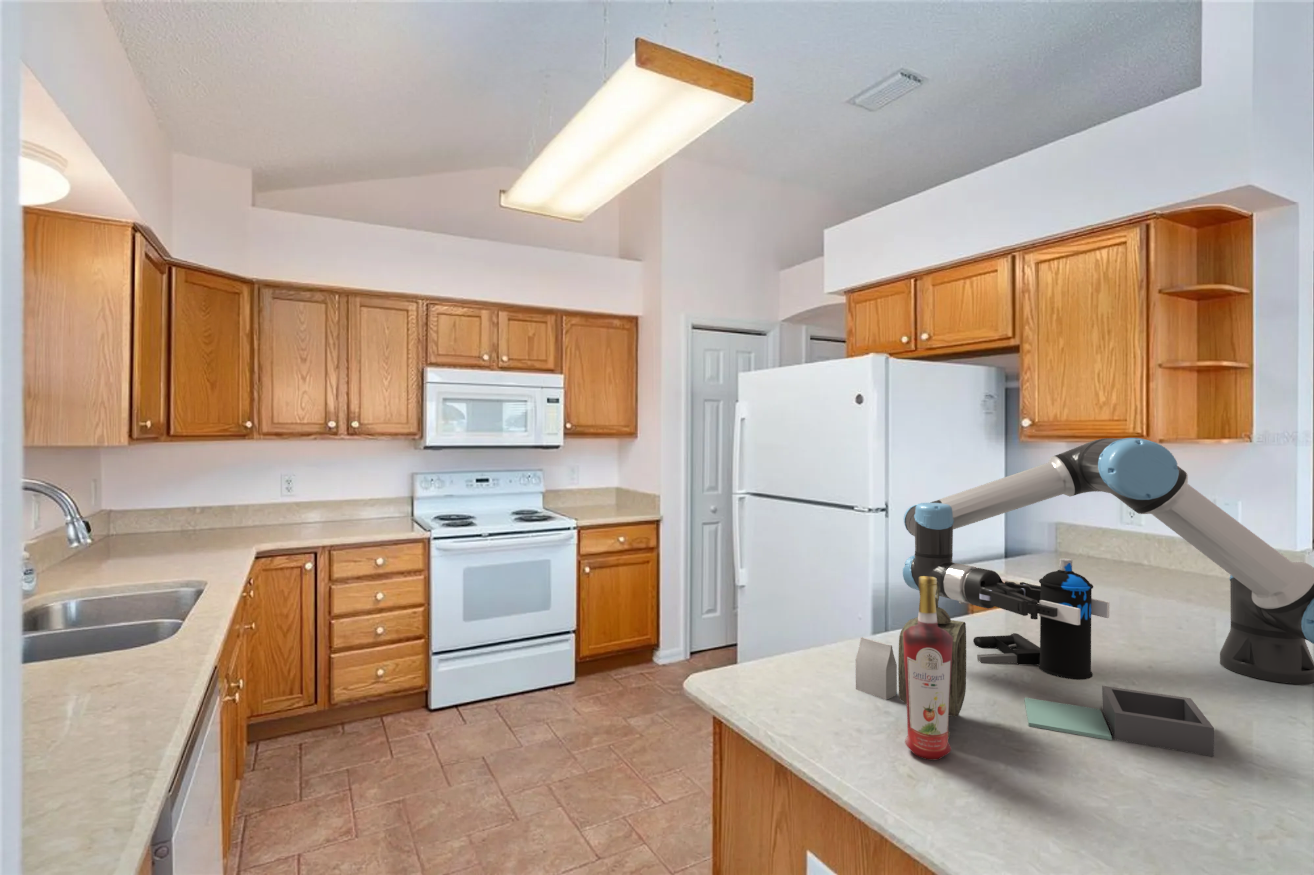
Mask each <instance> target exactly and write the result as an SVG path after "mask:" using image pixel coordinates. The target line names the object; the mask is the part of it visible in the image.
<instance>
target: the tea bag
mask: <svg viewBox="0 0 1314 875" xmlns="http://www.w3.org/2000/svg"><path fill="white" fill-rule="evenodd" d="M859 641H860V642H859V647H858V649H857V652H856V657H855V690H857V691H860V692H863V693H866V694H868V695H871V696H874V697H876V698H879V699H883V700H885V701H887V700H889V699H891V698H894V697H896V696H897V695H898V693H897V691H898V685H897V684H898V683H897V682H898V676H897V674H898V667H897V666H898V665H897V664H898V663H897V662H896V661H897V660H896V657H895V654H894V650H893V645H891V644H888V643H883V642H880V641H876V640H873V639H870V638H866V637H863V636H862V637H860V640H859ZM893 696H894V697H893Z"/></svg>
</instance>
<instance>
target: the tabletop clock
mask: <svg viewBox="0 0 1314 875" xmlns="http://www.w3.org/2000/svg"><path fill="white" fill-rule="evenodd" d="M939 599H940V596H939V583H938V581H937V594H936V595H935V602H936V613H937V623H938V627H939V628H942V629H944V630H945V631H947V632H948V633H949V634H950V635H951V636H952V637H953V644H952V668H951V683H950V698H949V716H952V717H956V718H957V717H958V716H959V715H960V713H961V710H962V707H963V705H964V701H965V696H966V692H967V690H966V687H967V626H966V622H965V621H961V620H953V619H951V616H950V615H949V614H948V612H947V611H946V609H944V608H942V607H939ZM915 625H918V616H917V617H914V618H911V619H909V620H908V621H907V622H906V623H905V624H904V626H903V627H902V628H901V630H900V632H899V637H898V663H897V664H898V665H897V666H898V667H897V674H898V676H897V677H898V697H899V700H900V701H902V702H903V703H904V704H905V705H907V698H906V680H905V665H904V641H903V632H904V631H905V630H907V629H908V628H909V627H911V626H915ZM950 737H951V732H950V730H949V729H948V739H950Z"/></svg>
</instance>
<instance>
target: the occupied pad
mask: <svg viewBox="0 0 1314 875" xmlns="http://www.w3.org/2000/svg"><path fill="white" fill-rule="evenodd" d="M1024 704H1025V712H1026V718H1027V725H1028V727H1032V728H1037V729H1038V728H1039V729H1043V730H1049V731H1055V732H1060V733H1067V734H1073V735H1079V736H1084V737H1090V738H1095V739H1096V738H1097V739H1101V740H1107V741H1112V740H1113V738H1112V737H1113V735H1111V734H1112V733H1111V731H1110V730H1109V726H1108V725H1107V724H1108V723H1107V722H1106V720H1105V716H1104V715H1103V713H1102V710H1101V709H1100V708H1094V707H1088V706H1083V705H1081V706H1080V705H1075V704H1069V703H1062V702H1055V701H1051V700H1042V699H1038V698H1032V697H1031V698H1029V697H1024Z"/></svg>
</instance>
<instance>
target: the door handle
mask: <svg viewBox="0 0 1314 875" xmlns="http://www.w3.org/2000/svg"><path fill="white" fill-rule="evenodd" d="M973 644H974V645H975V646H976V647H977V646H978V648H995V649H997V650H998V651H999V652H1001V653H988V654H986V653H985V654H981V653H980V654H977V662H979V661H980V662H981V663H980V662H979V663H980V664H1017V663H1018V664H1017V665H1019V664H1039V663H1040V646H1038V645H1036V644H1035V643H1033V642H1032V641H1031V640H1030V639H1029V638H1026V637H1024V636H1022V635H1021V634H1019V633H1017V632H1016V633H1011V634H1010V635H1009V634H1008V635H990V636H989V635H987V636H986V635H985V636H984V635H983V636H975V637H974V638H973ZM1013 648H1016V649H1013Z"/></svg>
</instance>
